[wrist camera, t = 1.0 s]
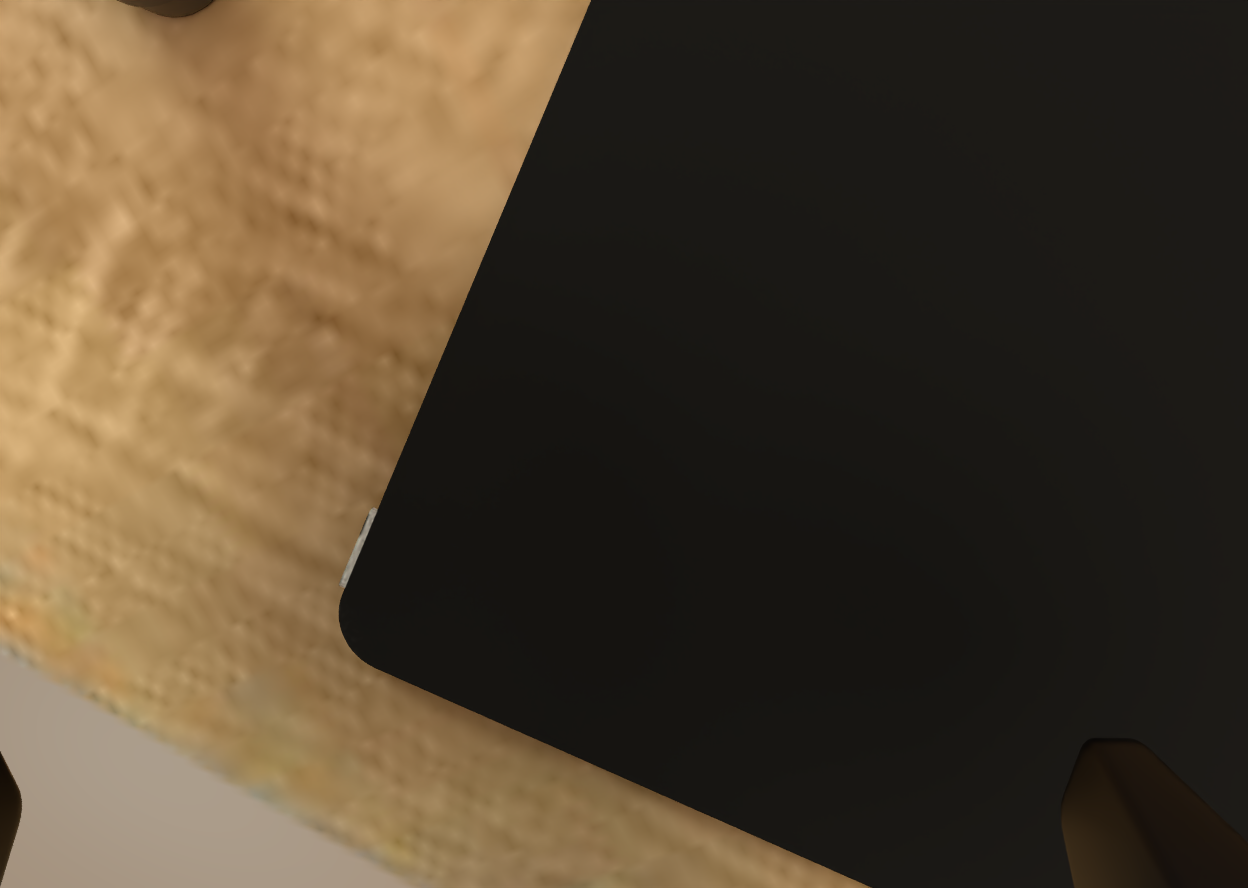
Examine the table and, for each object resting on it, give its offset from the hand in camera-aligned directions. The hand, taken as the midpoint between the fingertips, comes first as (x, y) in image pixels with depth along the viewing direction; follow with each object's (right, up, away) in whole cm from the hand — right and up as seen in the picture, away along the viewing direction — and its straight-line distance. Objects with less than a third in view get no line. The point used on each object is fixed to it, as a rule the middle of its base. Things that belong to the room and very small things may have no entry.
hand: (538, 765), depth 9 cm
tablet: (+11, +2, +13) cm, 17 cm away
